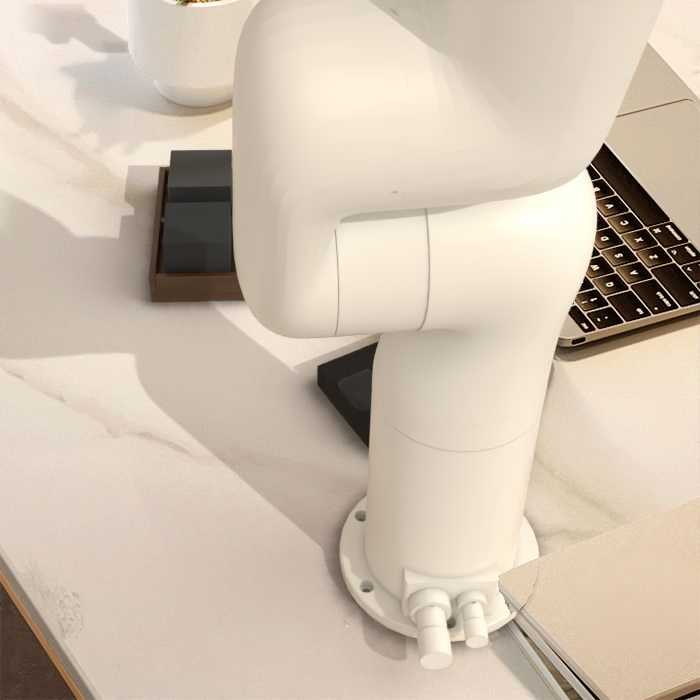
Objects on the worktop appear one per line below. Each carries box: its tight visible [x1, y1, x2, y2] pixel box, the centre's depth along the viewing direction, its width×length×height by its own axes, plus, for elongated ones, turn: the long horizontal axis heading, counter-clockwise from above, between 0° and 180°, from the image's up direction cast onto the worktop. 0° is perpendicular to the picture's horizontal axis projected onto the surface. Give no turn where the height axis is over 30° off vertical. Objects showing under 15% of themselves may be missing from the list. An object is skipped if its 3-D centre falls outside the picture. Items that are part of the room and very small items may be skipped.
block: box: [162, 202, 232, 273], centre depth 99 cm, size 5×5×4 cm
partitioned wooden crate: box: [148, 149, 245, 303], centre depth 102 cm, size 14×7×5 cm, turn 3°
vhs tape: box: [316, 340, 379, 449], centre depth 92 cm, size 8×14×2 cm, turn 121°
